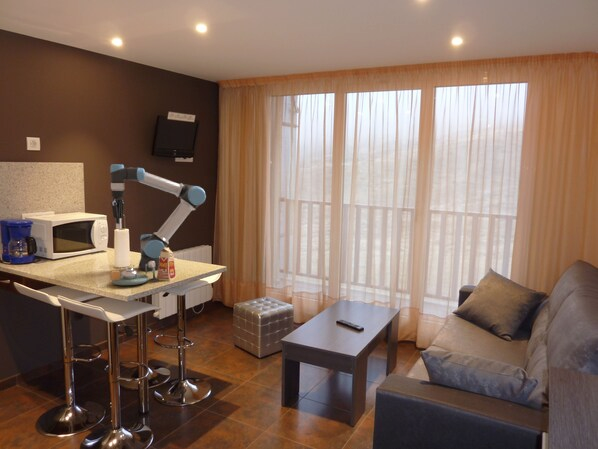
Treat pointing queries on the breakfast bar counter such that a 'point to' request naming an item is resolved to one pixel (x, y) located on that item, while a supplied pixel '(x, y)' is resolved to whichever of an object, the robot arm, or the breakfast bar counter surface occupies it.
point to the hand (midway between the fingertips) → (118, 228)
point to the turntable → (120, 281)
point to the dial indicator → (152, 265)
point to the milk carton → (166, 265)
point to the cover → (129, 274)
